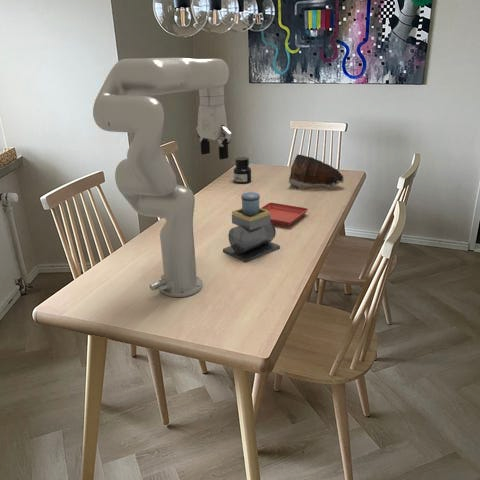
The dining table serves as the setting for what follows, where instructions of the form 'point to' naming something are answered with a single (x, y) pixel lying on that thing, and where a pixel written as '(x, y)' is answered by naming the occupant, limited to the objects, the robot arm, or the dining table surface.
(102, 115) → the robot arm
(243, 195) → the blue rounded cylinder
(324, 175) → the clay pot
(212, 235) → the dining table surface
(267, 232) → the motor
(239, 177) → the ink bottle
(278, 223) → the plant saucer
